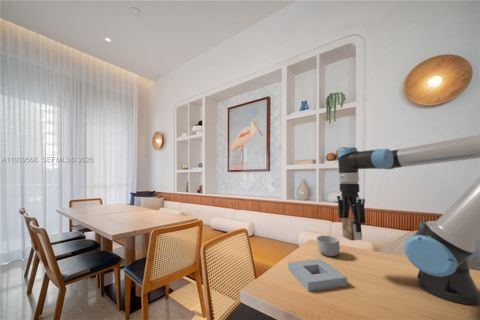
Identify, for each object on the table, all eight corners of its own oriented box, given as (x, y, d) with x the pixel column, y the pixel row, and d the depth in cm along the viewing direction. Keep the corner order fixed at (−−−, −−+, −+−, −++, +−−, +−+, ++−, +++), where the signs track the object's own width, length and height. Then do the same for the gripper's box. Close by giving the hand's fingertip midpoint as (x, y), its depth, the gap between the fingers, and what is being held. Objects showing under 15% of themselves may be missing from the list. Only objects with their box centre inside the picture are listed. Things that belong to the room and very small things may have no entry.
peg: (361, 239, 80) (360, 220, 81) (351, 240, 79) (350, 220, 80) (352, 236, 85) (351, 217, 86) (342, 236, 84) (341, 218, 85)
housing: (347, 285, 71) (346, 277, 72) (308, 291, 68) (307, 282, 68) (321, 265, 87) (320, 258, 87) (288, 269, 84) (288, 262, 84)
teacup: (342, 259, 93) (342, 242, 94) (319, 257, 95) (318, 241, 96) (334, 248, 107) (334, 233, 107) (314, 247, 109) (313, 232, 110)
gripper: (328, 182, 92) (330, 232, 90) (358, 184, 74) (361, 245, 73) (341, 182, 94) (344, 230, 92) (374, 183, 76) (378, 244, 74)
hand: (352, 237), depth 82 cm, fingers closed on peg, 5 cm apart
